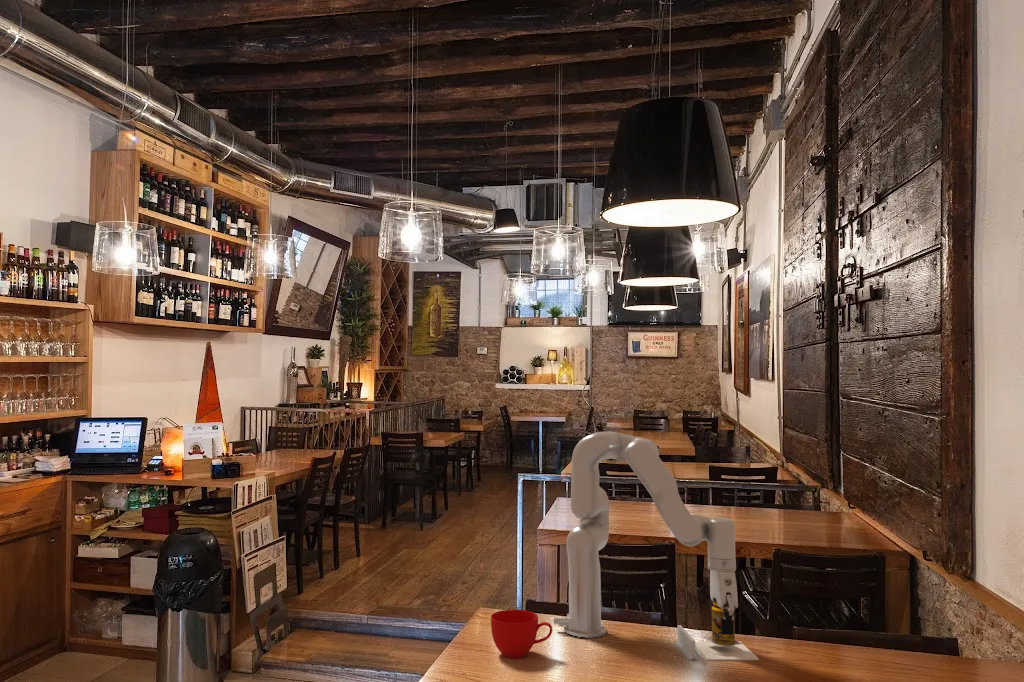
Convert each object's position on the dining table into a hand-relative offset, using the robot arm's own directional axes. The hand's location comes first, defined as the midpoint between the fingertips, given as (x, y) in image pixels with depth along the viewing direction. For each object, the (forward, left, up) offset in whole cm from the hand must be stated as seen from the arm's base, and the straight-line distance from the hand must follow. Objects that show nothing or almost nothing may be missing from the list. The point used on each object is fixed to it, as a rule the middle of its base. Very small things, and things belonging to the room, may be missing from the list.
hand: (723, 629), depth 196 cm
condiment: (0, +1, -4) cm, 4 cm away
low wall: (-11, 0, -6) cm, 12 cm away
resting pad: (0, 0, -6) cm, 6 cm away
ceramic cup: (-56, -1, -6) cm, 56 cm away
